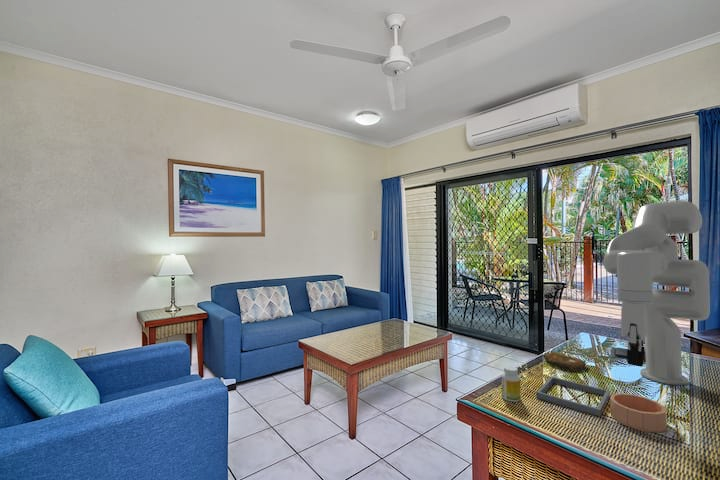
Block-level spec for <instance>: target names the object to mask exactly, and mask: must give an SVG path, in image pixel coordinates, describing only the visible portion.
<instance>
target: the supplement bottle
mask: <svg viewBox="0 0 720 480" xmlns="http://www.w3.org/2000/svg"><path fill="white" fill-rule="evenodd" d="M518 374H519V369H518V368H517V367H515V366H514V365H513V366H512V365H505V366H503V373H502V374H501V397H502V398H503V400H505V401H507V402H512V403H517V402H519V401H520V400H521V376H520V375H518Z"/></svg>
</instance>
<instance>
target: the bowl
mask: <svg viewBox="0 0 720 480" xmlns="http://www.w3.org/2000/svg"><path fill="white" fill-rule="evenodd" d="M609 409H610V411H609V413H610V415H611V417H612V418H613V420H615V421H616V422H617V423H620V424H621V425H623V426H626V427H627V428H629V429H630V428H631V429H634V430H637V431H641V432H647V433H654V434H655V433H656V434H657V433H664V432H666V431H667V408H666V406H664V405H663V404H661V403H660V402H659V401H656V400H653V399H651V398H648V397H646V396H642V395H638V394H632V393H623V392H619V393H612V394H611V395H610V397H609Z"/></svg>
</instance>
